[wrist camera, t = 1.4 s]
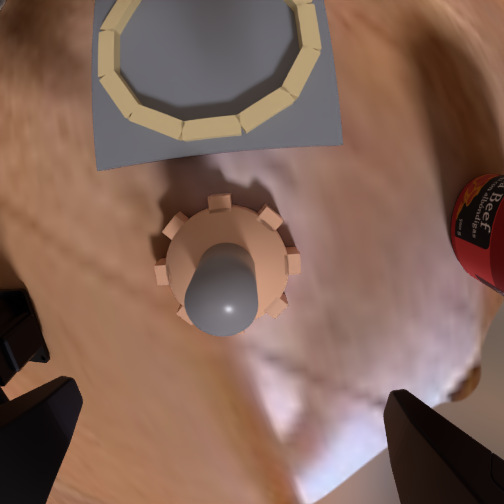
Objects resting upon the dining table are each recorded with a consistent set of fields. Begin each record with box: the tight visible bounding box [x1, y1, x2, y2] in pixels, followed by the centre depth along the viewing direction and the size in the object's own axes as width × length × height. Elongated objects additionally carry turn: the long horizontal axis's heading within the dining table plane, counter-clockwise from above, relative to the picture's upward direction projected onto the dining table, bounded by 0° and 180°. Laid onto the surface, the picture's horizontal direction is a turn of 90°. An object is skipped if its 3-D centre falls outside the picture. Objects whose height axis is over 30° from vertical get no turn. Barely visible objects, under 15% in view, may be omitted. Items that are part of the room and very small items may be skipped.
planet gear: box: [154, 193, 301, 336], centre depth 16 cm, size 8×8×6 cm
